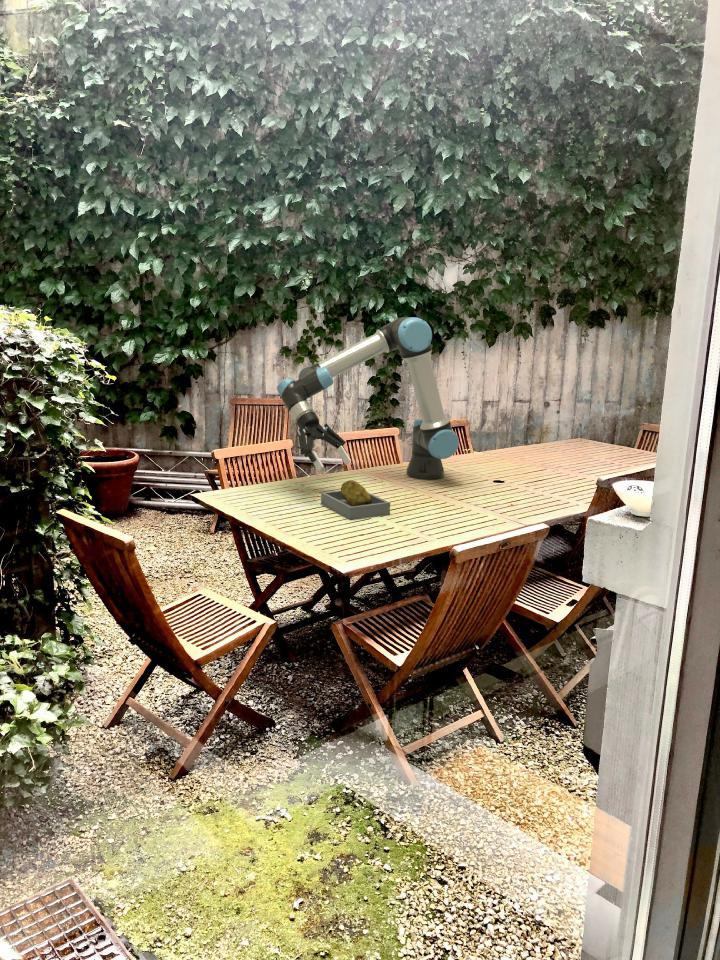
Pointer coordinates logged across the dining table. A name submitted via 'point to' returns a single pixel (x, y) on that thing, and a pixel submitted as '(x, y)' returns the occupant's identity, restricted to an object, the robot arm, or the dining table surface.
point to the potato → (355, 494)
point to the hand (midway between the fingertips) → (334, 465)
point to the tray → (356, 512)
